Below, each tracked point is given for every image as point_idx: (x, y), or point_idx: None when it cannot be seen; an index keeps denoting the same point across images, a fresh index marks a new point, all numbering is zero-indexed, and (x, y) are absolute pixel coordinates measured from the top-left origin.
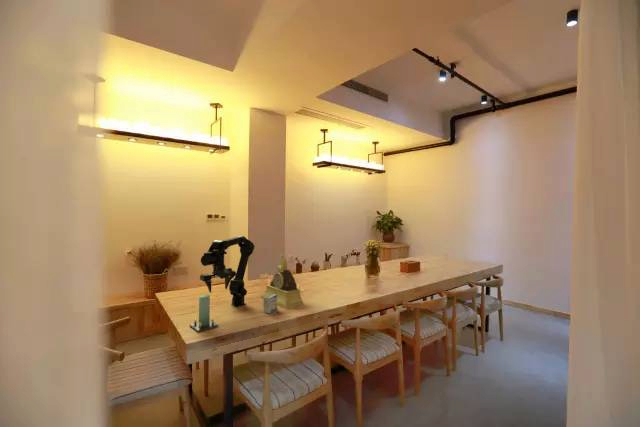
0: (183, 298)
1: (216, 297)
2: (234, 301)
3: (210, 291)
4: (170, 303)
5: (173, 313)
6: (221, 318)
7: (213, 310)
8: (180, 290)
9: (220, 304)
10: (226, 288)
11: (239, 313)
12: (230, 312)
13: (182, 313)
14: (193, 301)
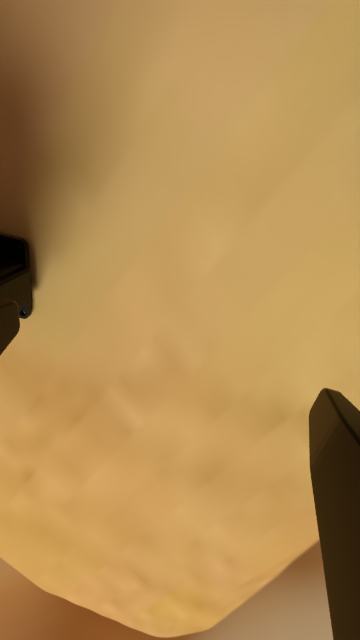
0: (161, 567)
1: (38, 466)
2: (5, 278)
3: (347, 402)
4: (244, 573)
5: None
6: (275, 116)
7: (180, 333)
8: (109, 616)
9: (81, 376)
10: (2, 304)
11: (85, 75)
12: (125, 181)
13: None
14: (156, 515)
